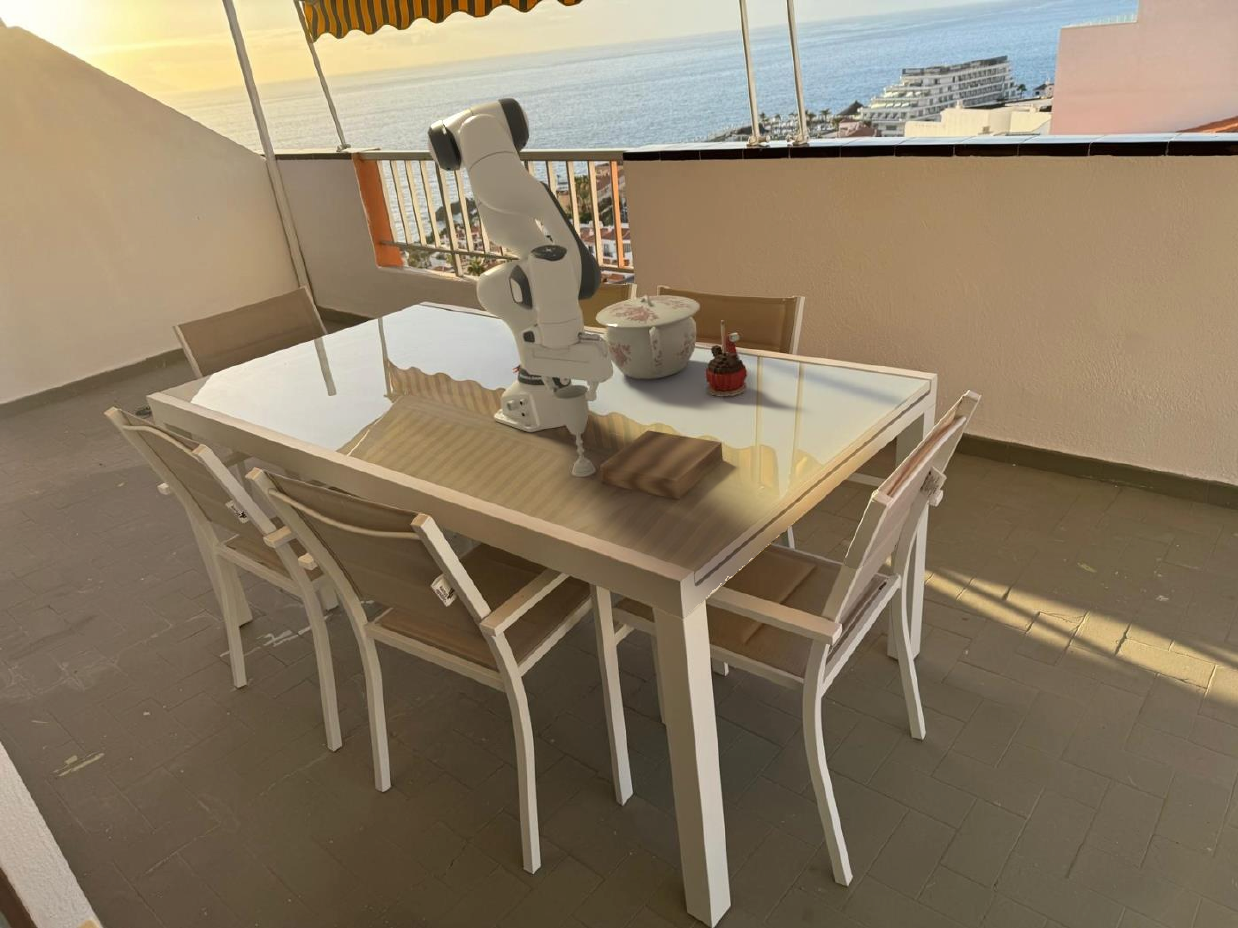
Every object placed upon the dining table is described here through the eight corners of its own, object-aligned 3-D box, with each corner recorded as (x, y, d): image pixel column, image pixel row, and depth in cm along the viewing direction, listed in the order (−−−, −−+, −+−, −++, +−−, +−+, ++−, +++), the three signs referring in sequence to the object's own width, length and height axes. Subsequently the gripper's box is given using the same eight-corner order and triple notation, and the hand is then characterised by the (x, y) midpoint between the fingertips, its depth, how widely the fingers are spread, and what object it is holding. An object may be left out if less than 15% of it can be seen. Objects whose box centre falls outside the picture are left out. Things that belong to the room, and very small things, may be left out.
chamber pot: (640, 349, 245) (632, 279, 236) (723, 358, 229) (718, 283, 220) (582, 383, 225) (570, 308, 216) (668, 396, 210) (660, 315, 201)
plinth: (602, 483, 171) (599, 465, 170) (649, 446, 184) (647, 430, 182) (678, 499, 162) (676, 480, 160) (722, 459, 174) (721, 442, 173)
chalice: (595, 479, 173) (583, 398, 166) (563, 479, 175) (550, 399, 167) (603, 462, 180) (591, 384, 172) (572, 463, 181) (559, 385, 174)
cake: (700, 389, 211) (694, 320, 203) (732, 380, 214) (727, 311, 206) (721, 402, 202) (716, 330, 194) (754, 392, 205) (751, 321, 197)
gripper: (614, 329, 160) (623, 397, 166) (533, 324, 172) (544, 387, 178) (595, 340, 156) (605, 409, 162) (512, 333, 167) (525, 398, 173)
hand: (572, 397), depth 170 cm, fingers open, 8 cm apart
